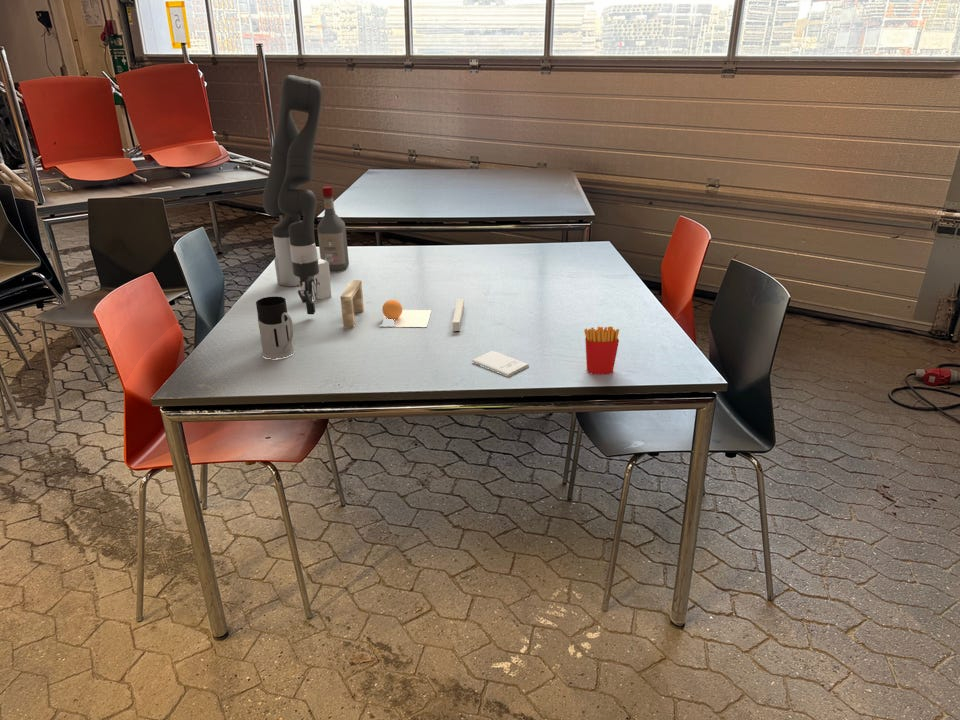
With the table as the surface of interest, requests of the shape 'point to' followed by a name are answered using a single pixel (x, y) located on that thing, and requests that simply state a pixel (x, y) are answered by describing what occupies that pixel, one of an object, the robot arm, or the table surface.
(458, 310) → the wall
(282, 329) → the glass holder
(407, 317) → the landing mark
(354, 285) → the bridge
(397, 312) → the ball
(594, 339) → the french fries
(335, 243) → the liquor
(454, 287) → the table surface
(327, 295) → the skincare box
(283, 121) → the robot arm
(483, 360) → the external hard drive
